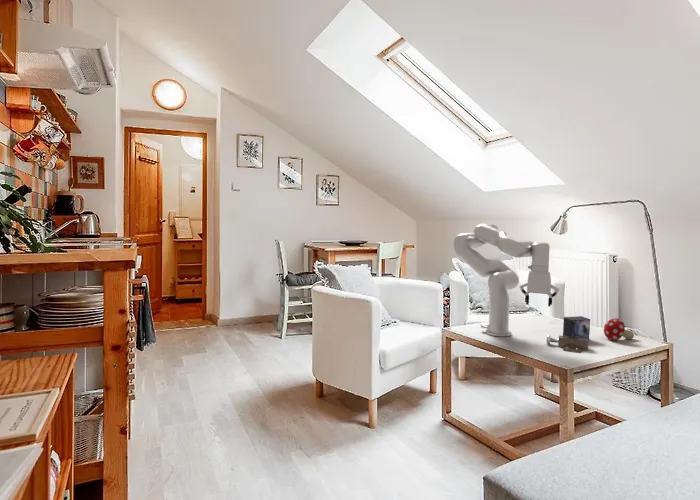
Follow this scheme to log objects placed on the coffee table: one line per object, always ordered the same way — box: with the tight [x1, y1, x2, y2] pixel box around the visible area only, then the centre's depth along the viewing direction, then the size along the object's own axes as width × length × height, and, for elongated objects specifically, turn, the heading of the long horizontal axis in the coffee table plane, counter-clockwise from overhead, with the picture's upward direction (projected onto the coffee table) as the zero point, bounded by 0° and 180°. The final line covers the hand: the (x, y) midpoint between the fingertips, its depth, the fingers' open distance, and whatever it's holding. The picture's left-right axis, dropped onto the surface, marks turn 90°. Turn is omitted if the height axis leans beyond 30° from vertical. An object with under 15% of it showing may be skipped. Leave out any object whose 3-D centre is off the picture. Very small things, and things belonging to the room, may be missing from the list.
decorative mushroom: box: [603, 318, 635, 341], centre depth 220 cm, size 11×11×15 cm
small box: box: [562, 315, 591, 341], centre depth 222 cm, size 11×6×10 cm, turn 101°
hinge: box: [557, 335, 589, 354], centre depth 207 cm, size 12×15×4 cm
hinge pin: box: [546, 334, 559, 345], centre depth 209 cm, size 14×4×4 cm, turn 60°
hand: (538, 304), depth 214 cm, fingers open, 9 cm apart
